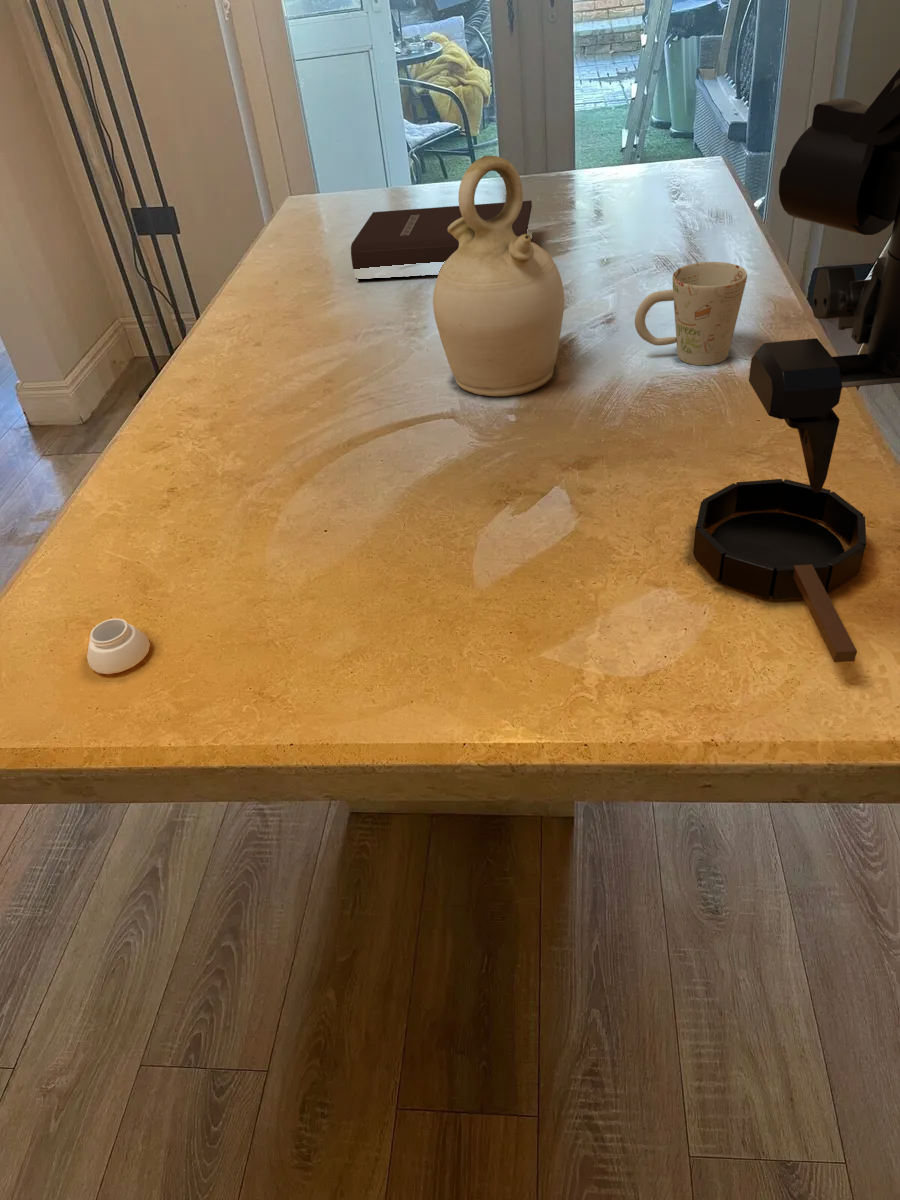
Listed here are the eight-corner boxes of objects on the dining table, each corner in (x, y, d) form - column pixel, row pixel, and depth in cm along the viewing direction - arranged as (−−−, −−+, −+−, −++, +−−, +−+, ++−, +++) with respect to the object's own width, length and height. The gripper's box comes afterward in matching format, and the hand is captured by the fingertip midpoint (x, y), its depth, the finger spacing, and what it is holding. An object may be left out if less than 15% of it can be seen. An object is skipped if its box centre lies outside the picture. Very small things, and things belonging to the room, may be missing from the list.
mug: (745, 366, 101) (755, 282, 95) (638, 375, 102) (642, 293, 96) (729, 339, 108) (737, 258, 101) (629, 348, 109) (631, 268, 102)
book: (355, 284, 139) (349, 247, 135) (378, 246, 154) (373, 212, 150) (526, 274, 134) (524, 235, 131) (532, 236, 149) (531, 200, 145)
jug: (430, 365, 111) (403, 154, 95) (542, 342, 113) (534, 132, 97) (459, 414, 99) (434, 184, 84) (584, 388, 101) (583, 158, 85)
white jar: (142, 628, 74) (85, 652, 72) (131, 602, 72) (72, 626, 70) (157, 660, 70) (97, 686, 69) (146, 634, 69) (84, 659, 67)
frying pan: (678, 516, 79) (681, 484, 77) (831, 505, 78) (838, 472, 75) (739, 693, 61) (744, 657, 59) (937, 681, 60) (951, 645, 58)
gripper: (1040, 197, 54) (971, 418, 64) (742, 227, 56) (719, 439, 65) (1148, 252, 46) (1049, 498, 55) (791, 285, 47) (756, 519, 57)
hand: (883, 484), depth 58 cm, fingers open, 9 cm apart
